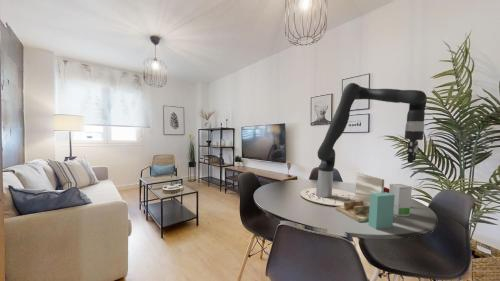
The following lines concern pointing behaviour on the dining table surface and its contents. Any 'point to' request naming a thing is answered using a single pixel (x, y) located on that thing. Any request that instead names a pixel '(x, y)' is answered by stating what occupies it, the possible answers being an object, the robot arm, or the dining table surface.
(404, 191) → the skincare box
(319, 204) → the dining table surface
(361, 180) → the book rack
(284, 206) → the dining table surface
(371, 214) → the book
